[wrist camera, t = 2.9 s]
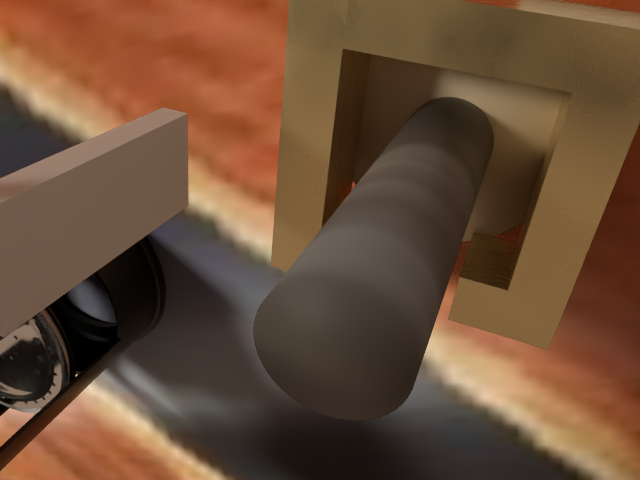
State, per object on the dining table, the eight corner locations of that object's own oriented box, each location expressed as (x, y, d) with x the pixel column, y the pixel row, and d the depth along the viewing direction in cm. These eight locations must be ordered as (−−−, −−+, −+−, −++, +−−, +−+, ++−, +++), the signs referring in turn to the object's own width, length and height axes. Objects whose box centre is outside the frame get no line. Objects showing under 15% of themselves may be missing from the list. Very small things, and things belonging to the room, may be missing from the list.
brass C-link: (331, -35, 17) (291, -28, 15) (657, 15, 15) (674, 35, 13) (304, 226, 22) (270, 265, 19) (551, 295, 20) (548, 349, 17)
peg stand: (373, -6, 19) (127, 92, 9) (604, 32, 17) (658, 218, 7) (346, 190, 23) (152, 428, 12) (534, 239, 21) (496, 568, 10)
